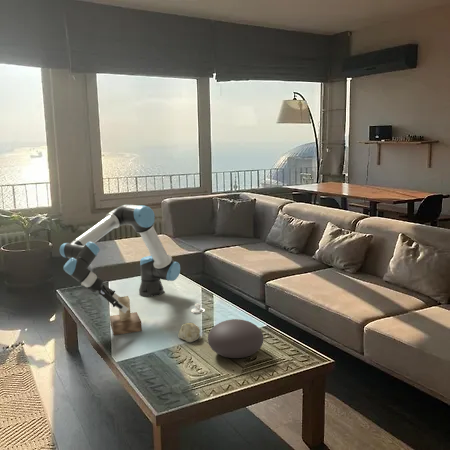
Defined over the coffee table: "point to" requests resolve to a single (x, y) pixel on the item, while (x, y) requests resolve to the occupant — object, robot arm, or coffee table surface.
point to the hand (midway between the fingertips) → (124, 306)
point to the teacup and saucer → (197, 309)
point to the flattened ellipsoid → (235, 338)
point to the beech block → (126, 303)
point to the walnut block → (125, 324)
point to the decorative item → (189, 332)
